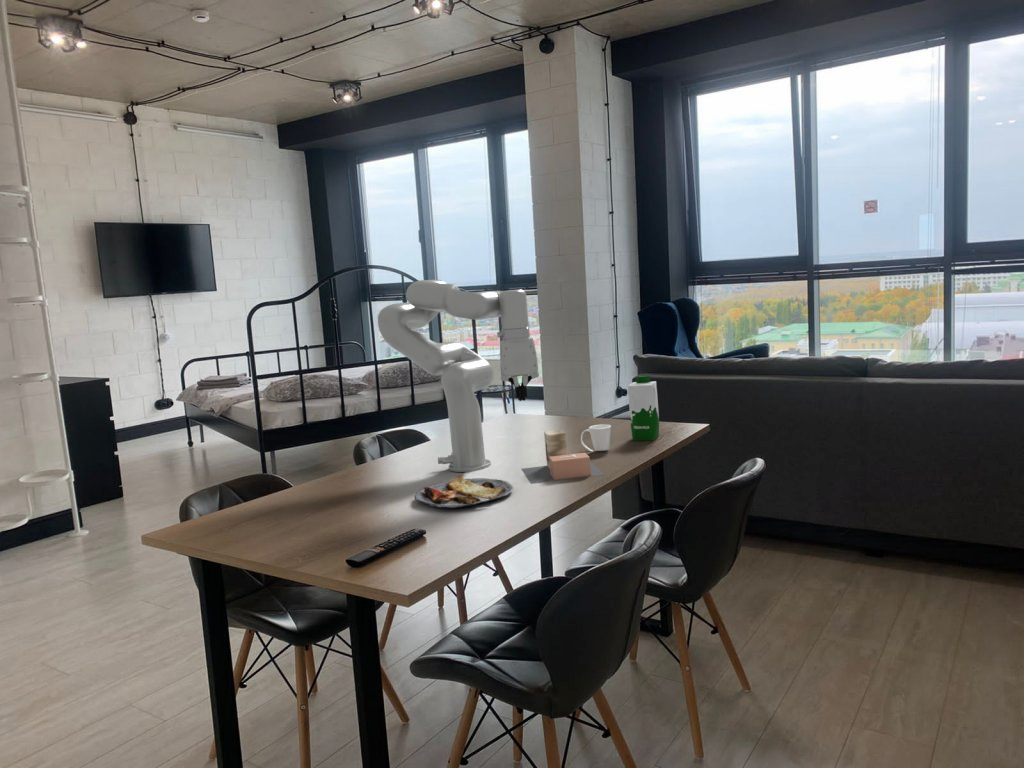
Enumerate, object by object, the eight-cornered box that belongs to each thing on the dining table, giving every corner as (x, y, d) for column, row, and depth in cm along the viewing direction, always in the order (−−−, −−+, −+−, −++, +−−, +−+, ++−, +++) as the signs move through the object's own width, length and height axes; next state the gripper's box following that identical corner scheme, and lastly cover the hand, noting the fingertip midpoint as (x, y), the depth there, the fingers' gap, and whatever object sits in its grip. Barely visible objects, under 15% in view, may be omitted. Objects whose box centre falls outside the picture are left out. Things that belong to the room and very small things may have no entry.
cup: (608, 455, 228) (606, 428, 227) (577, 454, 233) (575, 428, 232) (616, 450, 235) (614, 424, 234) (586, 449, 239) (584, 424, 238)
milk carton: (662, 435, 250) (658, 374, 248) (656, 441, 242) (651, 378, 240) (635, 435, 254) (631, 375, 251) (629, 441, 246) (624, 379, 243)
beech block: (550, 470, 215) (547, 435, 214) (546, 465, 221) (543, 431, 220) (568, 468, 216) (565, 433, 214) (564, 463, 221) (561, 429, 220)
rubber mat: (531, 485, 202) (530, 483, 202) (521, 470, 220) (521, 468, 220) (604, 476, 205) (604, 474, 205) (589, 461, 222) (589, 460, 222)
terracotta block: (552, 460, 203) (589, 456, 205) (548, 456, 209) (584, 452, 210) (554, 479, 204) (591, 475, 205) (550, 474, 210) (586, 470, 211)
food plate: (399, 500, 199) (398, 487, 198) (471, 481, 213) (470, 468, 213) (456, 520, 179) (454, 505, 179) (530, 497, 194) (529, 483, 194)
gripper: (490, 338, 208) (496, 404, 210) (544, 332, 210) (550, 399, 212) (487, 336, 215) (494, 401, 217) (540, 331, 217) (545, 395, 219)
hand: (521, 400), depth 215 cm, fingers closed
